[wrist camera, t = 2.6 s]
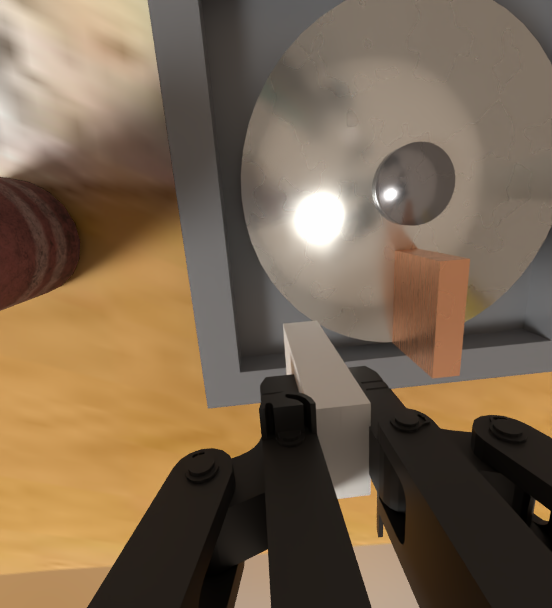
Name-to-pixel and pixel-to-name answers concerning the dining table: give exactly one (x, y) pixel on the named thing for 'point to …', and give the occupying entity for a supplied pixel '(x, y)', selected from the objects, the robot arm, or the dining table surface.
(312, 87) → the dial
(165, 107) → the dial plate
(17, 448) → the dining table surface
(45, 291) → the can
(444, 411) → the dining table surface
